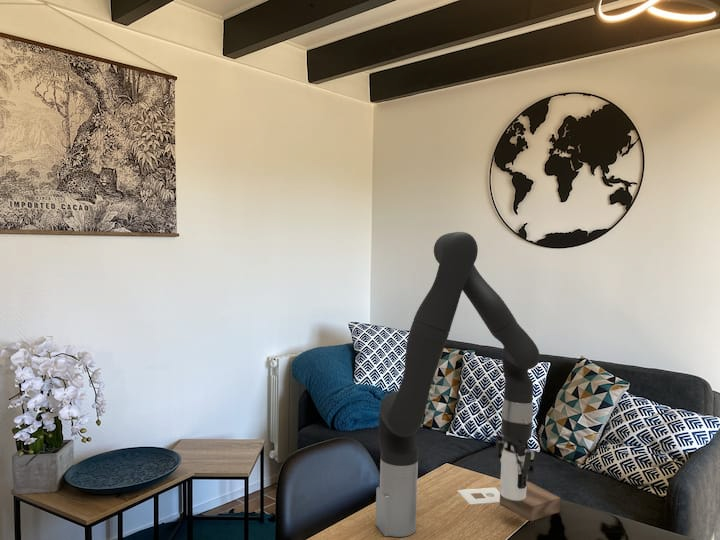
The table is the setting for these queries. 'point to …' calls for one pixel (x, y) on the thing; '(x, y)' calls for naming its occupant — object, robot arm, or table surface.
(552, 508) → the base block
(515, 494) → the can
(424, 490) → the table surface
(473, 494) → the page
